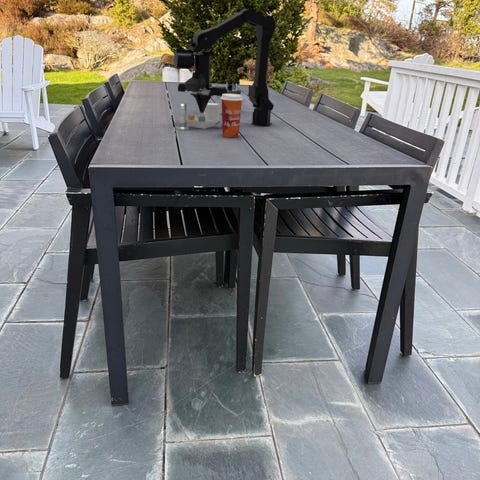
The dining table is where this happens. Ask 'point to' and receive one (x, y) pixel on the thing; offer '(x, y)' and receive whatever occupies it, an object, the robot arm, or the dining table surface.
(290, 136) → the dining table surface
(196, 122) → the panel
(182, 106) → the post
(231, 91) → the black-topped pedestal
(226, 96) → the paper cup
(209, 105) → the grey cylinder
